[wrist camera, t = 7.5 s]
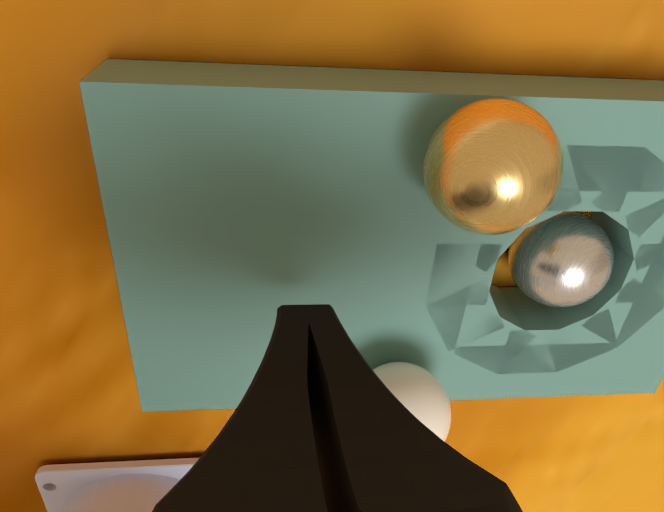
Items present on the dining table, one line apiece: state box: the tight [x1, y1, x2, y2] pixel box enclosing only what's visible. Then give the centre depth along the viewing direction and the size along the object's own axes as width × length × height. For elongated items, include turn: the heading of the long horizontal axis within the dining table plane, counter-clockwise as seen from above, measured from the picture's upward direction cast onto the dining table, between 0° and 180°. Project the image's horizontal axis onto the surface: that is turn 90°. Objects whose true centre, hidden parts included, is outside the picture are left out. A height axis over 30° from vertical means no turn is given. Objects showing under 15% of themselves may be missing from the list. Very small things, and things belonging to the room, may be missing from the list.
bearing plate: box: [79, 59, 664, 412], centre depth 17 cm, size 19×11×2 cm, turn 87°
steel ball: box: [508, 211, 614, 307], centre depth 17 cm, size 3×3×3 cm
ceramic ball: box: [373, 362, 451, 442], centre depth 17 cm, size 3×3×3 cm
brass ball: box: [423, 98, 564, 235], centre depth 13 cm, size 3×3×3 cm
